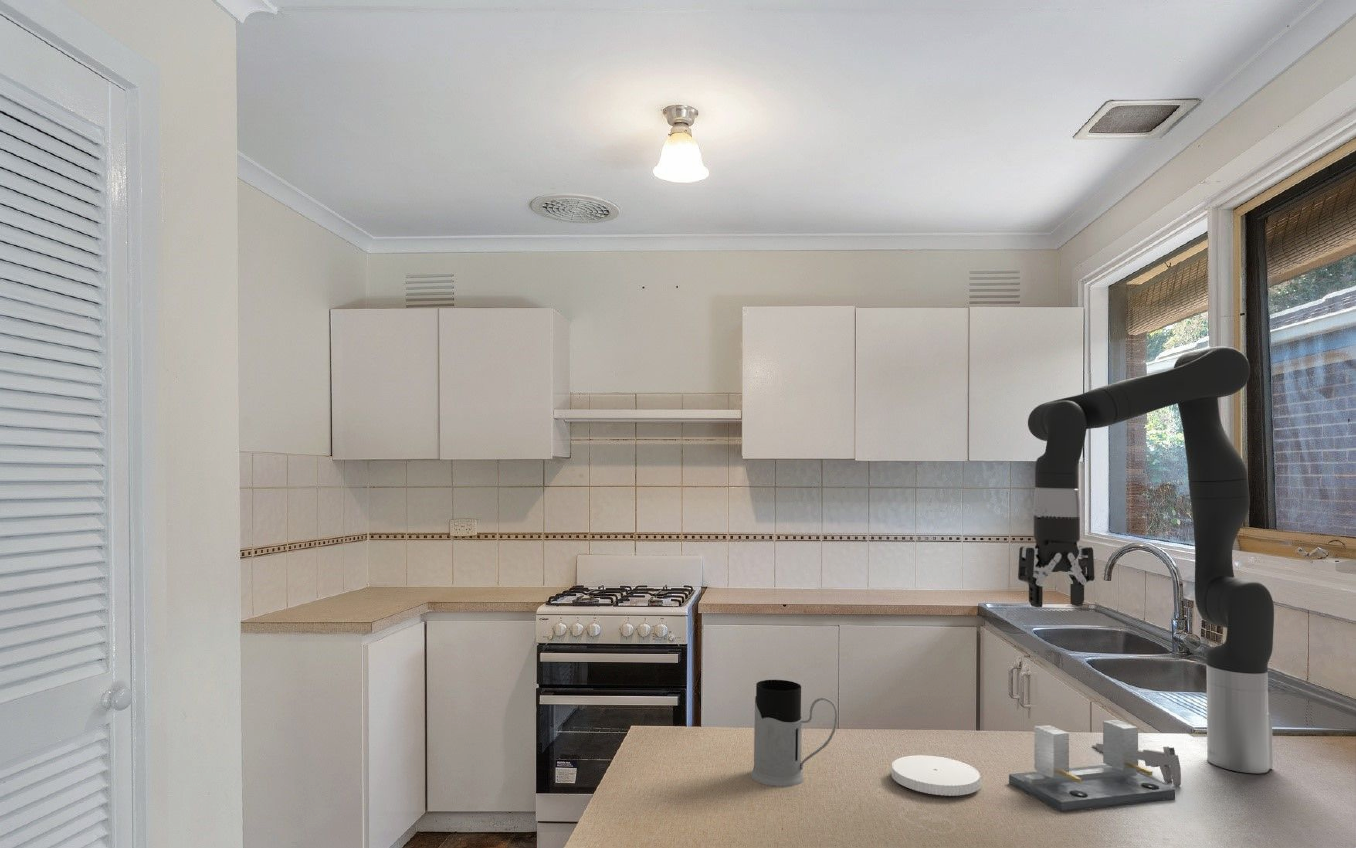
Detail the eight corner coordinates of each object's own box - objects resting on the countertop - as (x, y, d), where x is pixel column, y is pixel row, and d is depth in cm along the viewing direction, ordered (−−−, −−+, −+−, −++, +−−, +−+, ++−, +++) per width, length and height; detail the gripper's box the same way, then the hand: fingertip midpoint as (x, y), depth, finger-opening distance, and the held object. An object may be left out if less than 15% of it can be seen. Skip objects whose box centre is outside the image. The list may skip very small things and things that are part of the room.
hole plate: (1116, 772, 146) (1116, 759, 146) (1175, 799, 134) (1175, 784, 134) (1008, 783, 139) (1009, 769, 140) (1061, 812, 128) (1061, 796, 128)
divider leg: (1049, 768, 140) (1049, 725, 140) (1087, 786, 132) (1087, 741, 132) (1034, 769, 139) (1034, 726, 139) (1071, 788, 131) (1071, 742, 131)
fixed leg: (1117, 761, 144) (1117, 719, 144) (1158, 779, 136) (1158, 735, 136) (1103, 762, 143) (1103, 720, 143) (1143, 780, 135) (1143, 736, 135)
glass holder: (758, 764, 146) (759, 676, 147) (840, 776, 141) (841, 685, 142) (744, 781, 138) (746, 688, 138) (832, 794, 133) (833, 698, 134)
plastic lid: (913, 803, 131) (913, 787, 131) (878, 771, 145) (878, 756, 145) (997, 800, 133) (997, 784, 133) (955, 769, 147) (955, 754, 147)
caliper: (1181, 788, 140) (1181, 750, 140) (1175, 789, 140) (1175, 750, 140) (1096, 748, 160) (1096, 714, 160) (1091, 748, 159) (1091, 714, 160)
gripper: (1073, 513, 155) (1074, 602, 154) (1008, 512, 151) (1008, 603, 150) (1105, 515, 148) (1105, 608, 147) (1037, 514, 144) (1037, 610, 143)
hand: (1056, 606), depth 149 cm, fingers open, 8 cm apart
